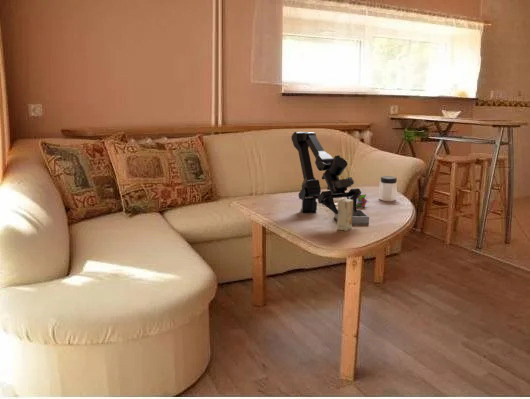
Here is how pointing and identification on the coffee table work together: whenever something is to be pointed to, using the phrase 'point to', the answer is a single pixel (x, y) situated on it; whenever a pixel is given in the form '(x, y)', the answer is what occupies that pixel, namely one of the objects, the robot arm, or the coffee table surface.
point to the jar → (388, 188)
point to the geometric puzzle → (361, 200)
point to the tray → (358, 218)
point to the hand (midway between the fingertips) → (346, 212)
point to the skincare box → (345, 214)
